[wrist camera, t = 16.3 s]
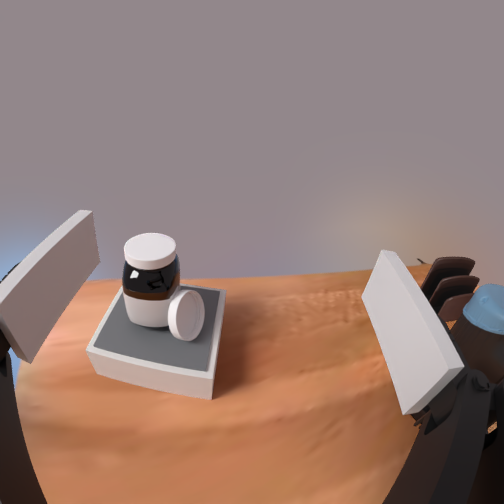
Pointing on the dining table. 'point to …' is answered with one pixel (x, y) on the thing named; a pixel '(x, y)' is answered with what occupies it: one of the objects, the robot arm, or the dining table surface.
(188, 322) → the spread jar
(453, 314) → the letter holder
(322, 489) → the dining table surface
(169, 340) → the riser
